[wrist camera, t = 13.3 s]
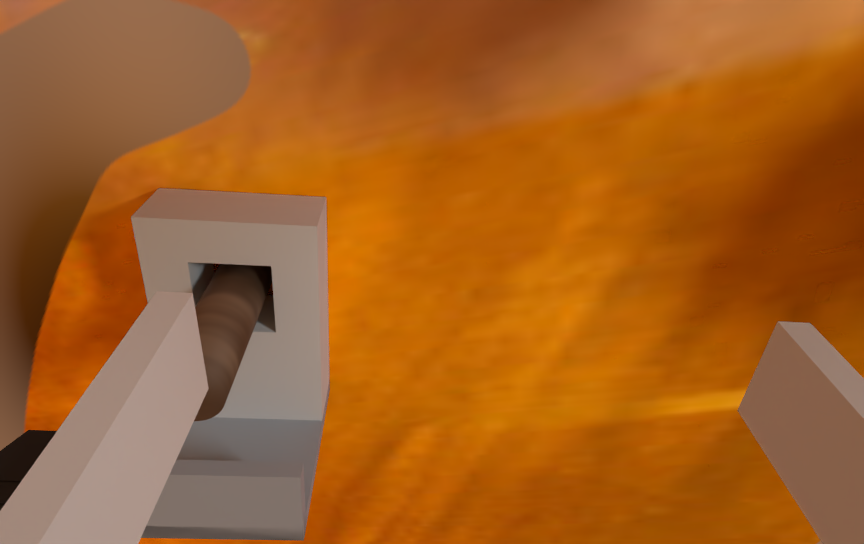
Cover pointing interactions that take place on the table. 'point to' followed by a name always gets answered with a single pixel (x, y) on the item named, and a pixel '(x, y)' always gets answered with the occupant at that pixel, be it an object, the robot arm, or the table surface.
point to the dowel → (228, 327)
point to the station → (247, 361)
